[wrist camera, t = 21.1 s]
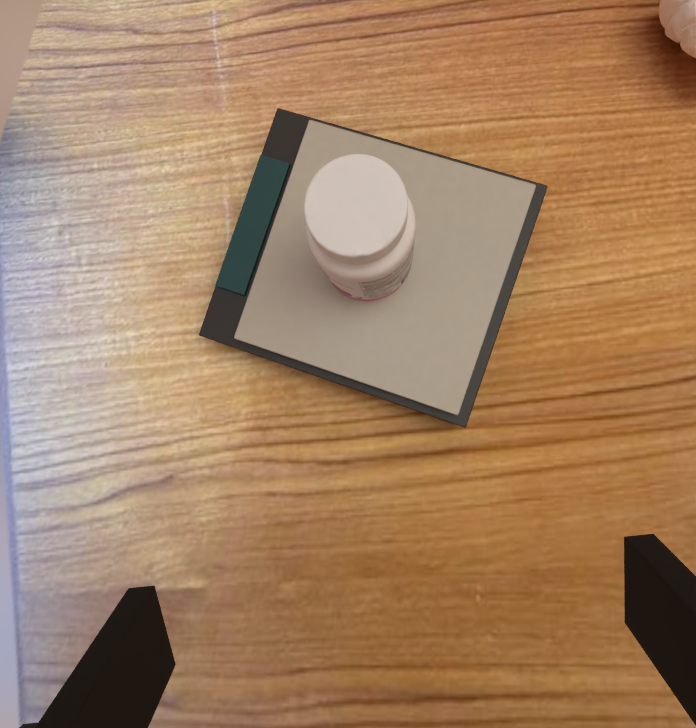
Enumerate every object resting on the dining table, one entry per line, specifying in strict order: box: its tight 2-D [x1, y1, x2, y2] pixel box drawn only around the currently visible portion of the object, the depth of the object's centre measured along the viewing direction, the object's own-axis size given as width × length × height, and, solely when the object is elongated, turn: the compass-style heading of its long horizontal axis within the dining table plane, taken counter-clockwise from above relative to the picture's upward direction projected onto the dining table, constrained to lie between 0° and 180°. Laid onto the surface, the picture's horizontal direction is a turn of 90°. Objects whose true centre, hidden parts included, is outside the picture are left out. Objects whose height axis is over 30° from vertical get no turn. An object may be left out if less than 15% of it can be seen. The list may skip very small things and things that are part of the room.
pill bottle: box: [304, 154, 416, 301], centre depth 23 cm, size 5×5×8 cm
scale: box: [199, 108, 547, 427], centre depth 29 cm, size 16×14×3 cm
